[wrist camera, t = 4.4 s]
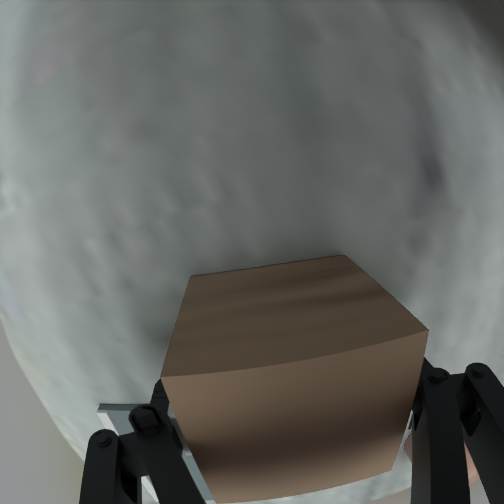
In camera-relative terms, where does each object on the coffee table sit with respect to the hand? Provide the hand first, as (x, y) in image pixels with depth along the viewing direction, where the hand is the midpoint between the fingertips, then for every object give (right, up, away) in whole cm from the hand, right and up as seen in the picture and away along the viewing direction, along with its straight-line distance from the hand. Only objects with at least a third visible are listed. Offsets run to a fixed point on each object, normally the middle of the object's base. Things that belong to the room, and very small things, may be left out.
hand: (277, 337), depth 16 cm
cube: (0, 0, 0) cm, 0 cm away
